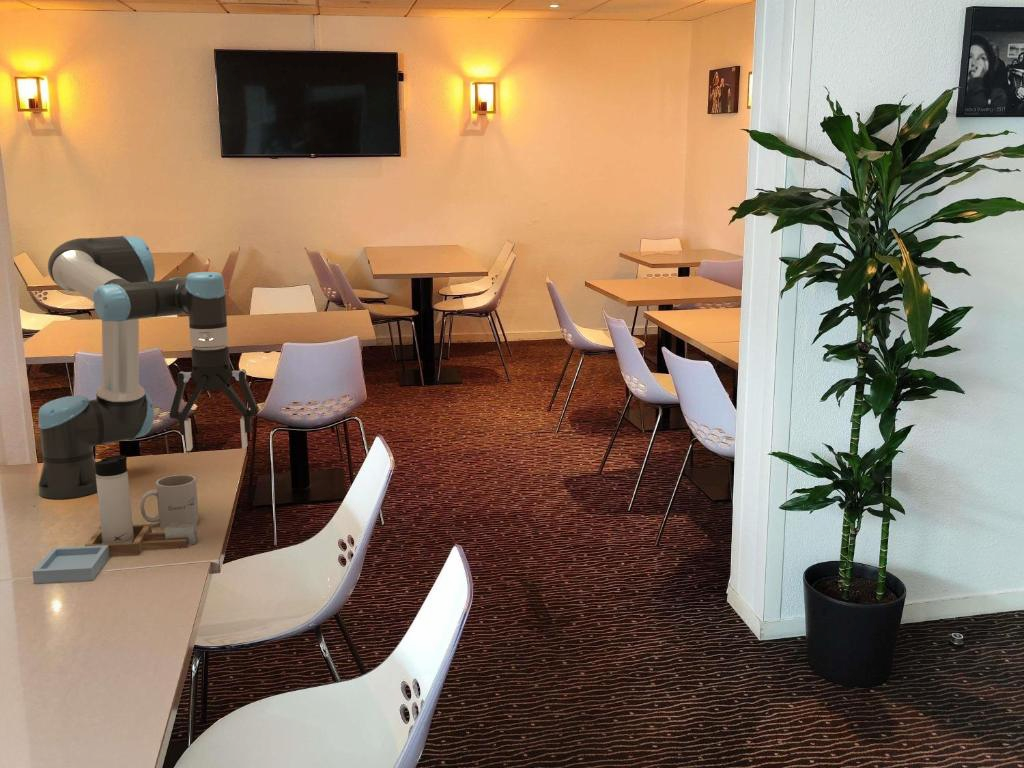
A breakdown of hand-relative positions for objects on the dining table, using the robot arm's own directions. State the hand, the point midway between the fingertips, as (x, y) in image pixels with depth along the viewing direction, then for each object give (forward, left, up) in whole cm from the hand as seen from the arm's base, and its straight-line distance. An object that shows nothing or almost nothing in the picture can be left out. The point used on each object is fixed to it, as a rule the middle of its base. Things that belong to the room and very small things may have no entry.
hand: (217, 448), depth 204 cm
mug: (-13, -14, -21) cm, 29 cm away
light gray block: (0, -9, -21) cm, 23 cm away
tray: (+12, -28, -21) cm, 37 cm away
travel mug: (0, -22, -21) cm, 31 cm away
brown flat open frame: (0, -17, -21) cm, 27 cm away
